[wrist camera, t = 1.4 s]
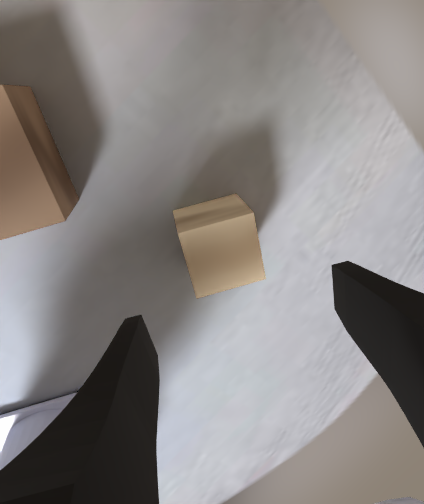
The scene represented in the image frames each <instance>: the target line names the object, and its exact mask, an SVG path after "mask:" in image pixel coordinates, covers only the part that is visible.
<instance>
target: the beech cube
mask: <svg viewBox="0 0 424 504" xmlns="http://www.w3.org/2000/svg"><path fill="white" fill-rule="evenodd" d="M173 215H174V219H175V224H176V228H177V233H178V236H179V240H180V243H181V247H182V250H183V253H184V257H185V260H186V264H187V267H188V271H189V274H190V277H191V281H192V284H193V288H194V291H195V295H196V298H197V299H198V298H201V297H205V296H208V295H212V294H215V293H219V292H222V291H226V290H229V289H233V288H236V287H239V286H243V285H246V284H250V283H253V282H257V281H260V280H264V279H266V277H265V272H264V266H263V261H262V255H261V250H260V244H259V239H258V233H257V228H256V222H255V217H254V212H253V211H252V210H251V209H250V208H249V207H248V206H247V205H246V204H245V203H244V201H243V200H242V199H241V198H240V197H239V196H238V195H237V194H232V195H228V196H225V197H221V198H217V199H214V200H210V201H206V202H203V203H199V204H195V205H191V206H188V207H184V208H180V209H177V210H173Z"/></svg>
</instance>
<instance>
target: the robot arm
mask: <svg viewBox="0 0 424 504" xmlns="http://www.w3.org/2000/svg"><path fill="white" fill-rule="evenodd" d="M332 277H333V292H334V306H335V310H336V312H337V314H338V316H339V318H340V320H341V321H342V323H343V325H344V327H345V328H346V330H347V332H348V333H349V335H350V336H351V337H352V339H353V340H354V341H355V343H356V344H357V345H358V347H359V348H360V349H361V351H362V352H363V353H364V355H365V356H366V357H367V359H368V360H369V362H370V363H371V364H372V366H373V367H374V368H375V370H376V371H377V372H378V374H379V375H380V376H381V378H382V379H383V380H384V382H385V383H386V385H387V386H388V388H389V389H390V390H391V392H392V394H393V396H394V397H395V399H396V400H397V402H398V404H399V406H400V407H401V409H402V411H403V412H404V414H405V415H406V417H407V419H408V421H409V423H410V424H411V426H412V428H413V430H414V431H415V433H416V435H417V436H418V438H419V440H420V442H421V443H422V445H423V447H424V293H421V292H418V291H416V290H413V289H410V288H408V287H405V286H403V285H401V284H398V283H396V282H394V281H391V280H389V279H387V278H385V277H382V276H380V275H378V274H376V273H374V272H372V271H369V270H367V269H365V268H363V267H361V266H359V265H356V264H354V263H352V262H349V261H345V262H341V263H338V264H334V265H332ZM158 402H159V366H158V355H157V352H156V350H155V347H154V345H153V342H152V340H151V338H150V335H149V333H148V330H147V328H146V325H145V323H144V320H143V318H142V315H138V316H134V317H130V318H126V319H125V320H124V321H123V323H122V325H121V326H120V328H119V330H118V331H117V333H116V335H115V337H114V338H113V340H112V342H111V343H110V345H109V347H108V348H107V350H106V352H105V353H104V355H103V356H102V358H101V360H100V361H99V363H98V364H97V366H96V367H95V369H94V370H93V372H92V373H91V375H90V376H89V377H88V379H87V380H86V382H85V383H84V385H83V386H82V387H81V388H80V390H79V391H78V392H76V393H73V394H70V395H66V396H63V397H59V398H56V399H53V400H49V401H46V402H43V403H39V404H36V405H32V406H29V407H26V408H22V409H19V410H16V411H12V412H9V413H6V414H2V415H0V504H159V495H158V478H157V456H156V438H157V420H158ZM374 504H424V501H421V500H418V499H414V498H411V497H406V498H398V499H390V500H385V501H382V502H378V503H374Z"/></svg>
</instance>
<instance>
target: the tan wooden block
mask: <svg viewBox="0 0 424 504" xmlns="http://www.w3.org/2000/svg"><path fill="white" fill-rule="evenodd" d="M78 201H79V198H78V196H77V193H76V191H75V189H74V186H73V184H72V182H71V180H70V177H69V175H68V173H67V170H66V168H65V166H64V163H63V161H62V159H61V156H60V154H59V152H58V150H57V147H56V145H55V143H54V140H53V138H52V136H51V133H50V131H49V129H48V126H47V124H46V122H45V120H44V117H43V115H42V113H41V110H40V108H39V106H38V103H37V101H36V99H35V96H34V94H33V92H32V90H31V87H27V86H14V85H0V240H2V239H6V238H9V237H12V236H16V235H19V234H23V233H26V232H29V231H33V230H36V229H40V228H43V227H46V226H50V225H53V224H57V223H60V222H63V221H66V219H67V218H68V216H69V215H70V213H71V211H72V210H73V208H74V207H75V205H76V204H77V202H78Z"/></svg>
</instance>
